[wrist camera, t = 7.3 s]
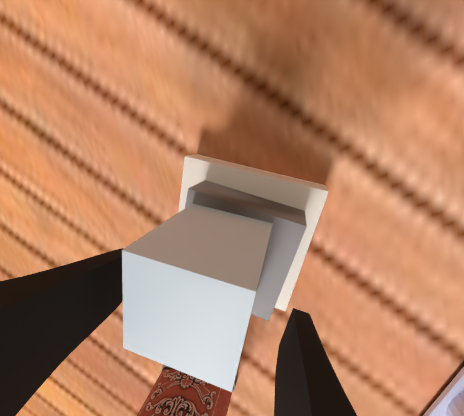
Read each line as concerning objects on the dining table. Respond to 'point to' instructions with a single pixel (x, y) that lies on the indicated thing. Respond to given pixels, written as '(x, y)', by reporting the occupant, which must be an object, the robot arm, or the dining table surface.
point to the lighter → (185, 396)
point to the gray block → (194, 291)
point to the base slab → (264, 186)
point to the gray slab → (280, 241)
